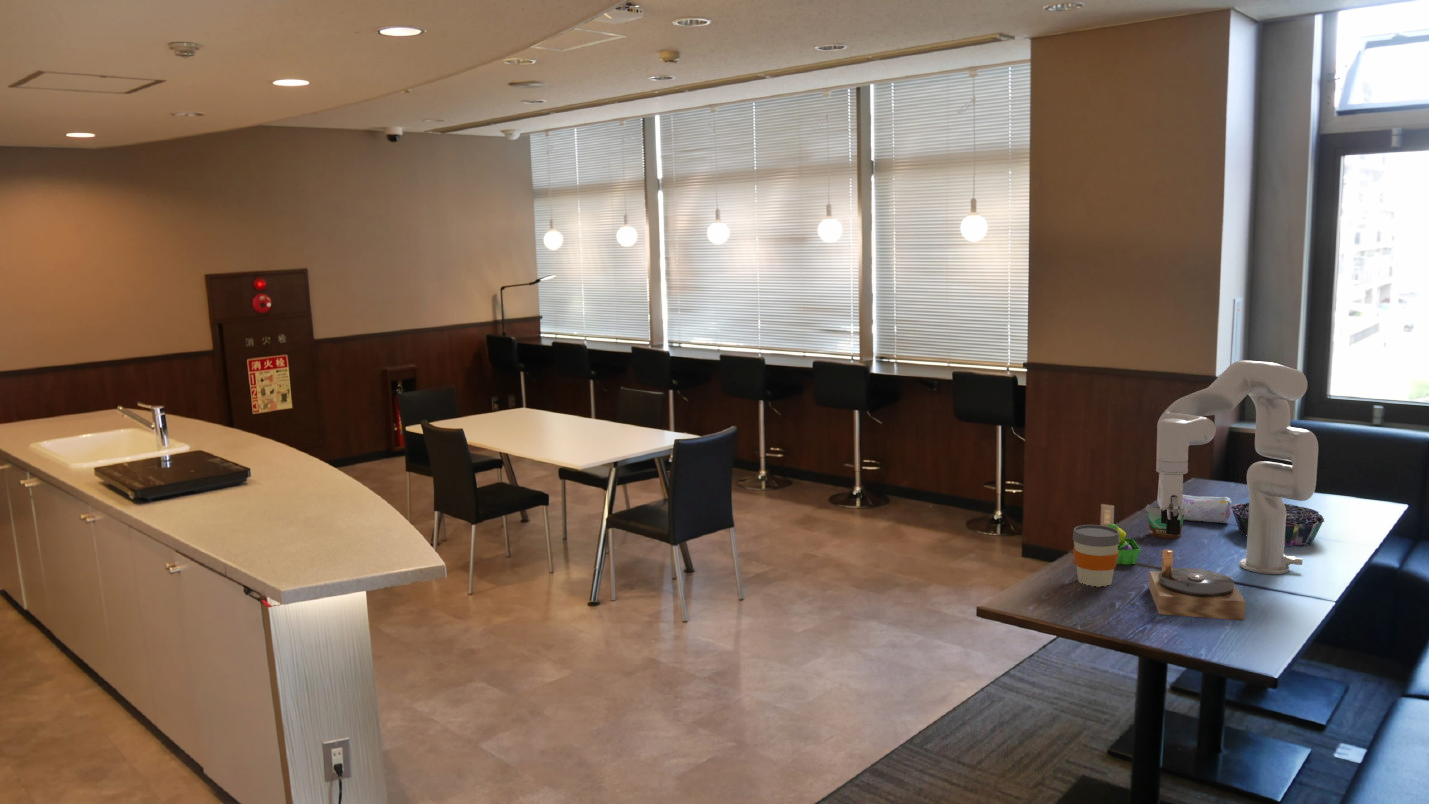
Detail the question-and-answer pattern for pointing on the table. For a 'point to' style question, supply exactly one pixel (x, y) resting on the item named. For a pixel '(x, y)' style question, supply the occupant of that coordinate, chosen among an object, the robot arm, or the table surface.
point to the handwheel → (1193, 579)
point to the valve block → (1196, 602)
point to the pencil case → (1207, 508)
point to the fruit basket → (1126, 548)
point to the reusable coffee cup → (1095, 553)
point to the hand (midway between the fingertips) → (1170, 528)
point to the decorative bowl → (1287, 523)
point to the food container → (1157, 527)
